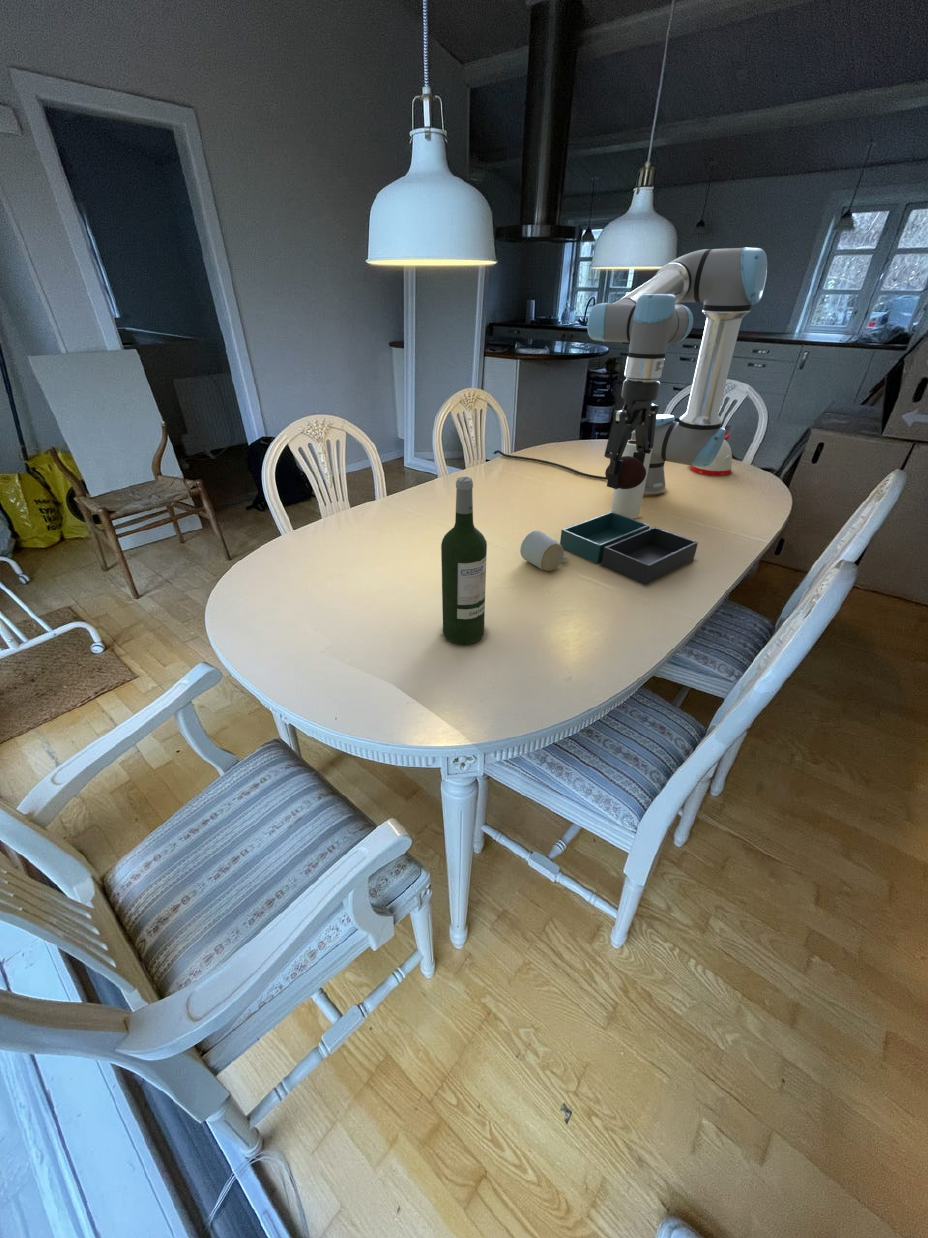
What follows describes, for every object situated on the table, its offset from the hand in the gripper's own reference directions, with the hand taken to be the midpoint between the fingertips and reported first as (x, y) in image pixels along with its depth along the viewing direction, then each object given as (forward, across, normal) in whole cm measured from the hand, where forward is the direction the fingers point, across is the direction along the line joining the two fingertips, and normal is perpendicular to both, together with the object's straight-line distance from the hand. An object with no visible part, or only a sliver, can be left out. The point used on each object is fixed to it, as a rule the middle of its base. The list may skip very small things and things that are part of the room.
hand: (623, 483), depth 121 cm
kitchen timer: (+17, +85, +20) cm, 89 cm away
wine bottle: (+17, -54, -6) cm, 57 cm away
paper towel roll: (+17, +20, +11) cm, 29 cm away
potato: (+1, 0, 0) cm, 1 cm away
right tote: (+17, 0, -11) cm, 20 cm away
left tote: (+17, 0, +3) cm, 17 cm away
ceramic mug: (+17, -20, +5) cm, 27 cm away
